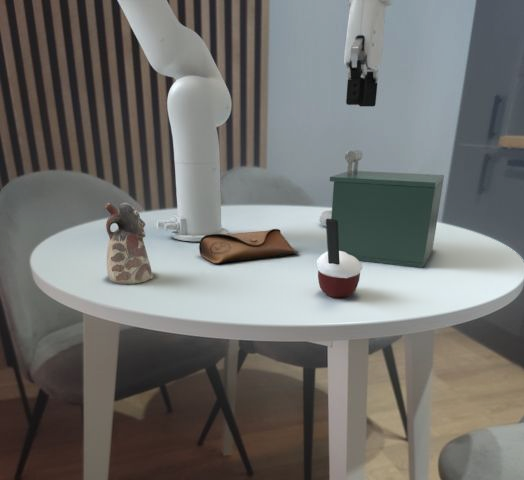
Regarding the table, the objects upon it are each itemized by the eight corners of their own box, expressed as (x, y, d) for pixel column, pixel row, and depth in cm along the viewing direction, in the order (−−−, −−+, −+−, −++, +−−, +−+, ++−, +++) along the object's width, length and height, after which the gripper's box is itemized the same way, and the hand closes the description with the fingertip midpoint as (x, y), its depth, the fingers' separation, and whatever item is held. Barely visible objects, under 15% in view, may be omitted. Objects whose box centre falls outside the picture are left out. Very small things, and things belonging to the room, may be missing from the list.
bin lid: (329, 181, 90) (331, 151, 88) (350, 174, 102) (352, 148, 100) (434, 187, 83) (439, 155, 81) (443, 179, 96) (447, 151, 93)
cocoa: (340, 284, 80) (346, 207, 75) (371, 293, 75) (380, 213, 70) (298, 296, 74) (301, 213, 69) (329, 307, 70) (335, 220, 65)
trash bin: (328, 257, 96) (333, 181, 90) (348, 242, 108) (353, 175, 102) (422, 267, 89) (434, 187, 83) (432, 250, 101) (443, 179, 96)
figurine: (154, 282, 79) (148, 205, 74) (108, 285, 78) (98, 206, 72) (150, 270, 86) (144, 198, 81) (107, 273, 84) (98, 199, 79)
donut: (320, 230, 120) (362, 230, 120) (321, 215, 118) (363, 215, 118) (317, 222, 129) (356, 222, 129) (317, 209, 127) (356, 208, 127)
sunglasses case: (217, 263, 88) (208, 227, 89) (204, 274, 95) (196, 240, 95) (301, 252, 96) (293, 219, 97) (284, 263, 103) (277, 232, 103)
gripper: (360, 6, 94) (352, 107, 101) (335, -16, 79) (328, 104, 87) (400, 3, 91) (389, 107, 98) (382, -20, 77) (371, 104, 84)
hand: (361, 105), depth 92 cm, fingers open, 9 cm apart
